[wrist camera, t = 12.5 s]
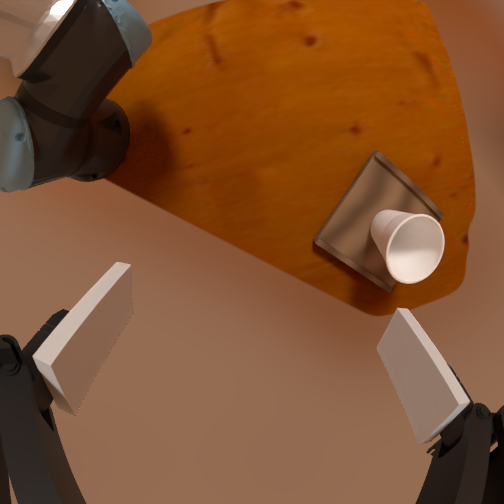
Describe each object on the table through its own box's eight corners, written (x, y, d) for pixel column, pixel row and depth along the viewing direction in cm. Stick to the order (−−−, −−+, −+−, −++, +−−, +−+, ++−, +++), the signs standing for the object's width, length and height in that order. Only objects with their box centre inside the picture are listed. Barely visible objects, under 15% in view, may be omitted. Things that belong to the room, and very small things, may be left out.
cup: (381, 265, 44) (409, 296, 34) (347, 228, 42) (372, 253, 31) (418, 226, 41) (454, 248, 31) (387, 185, 39) (422, 198, 29)
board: (313, 239, 44) (315, 243, 42) (373, 150, 38) (378, 151, 36) (385, 288, 47) (389, 293, 45) (438, 213, 41) (445, 215, 39)
